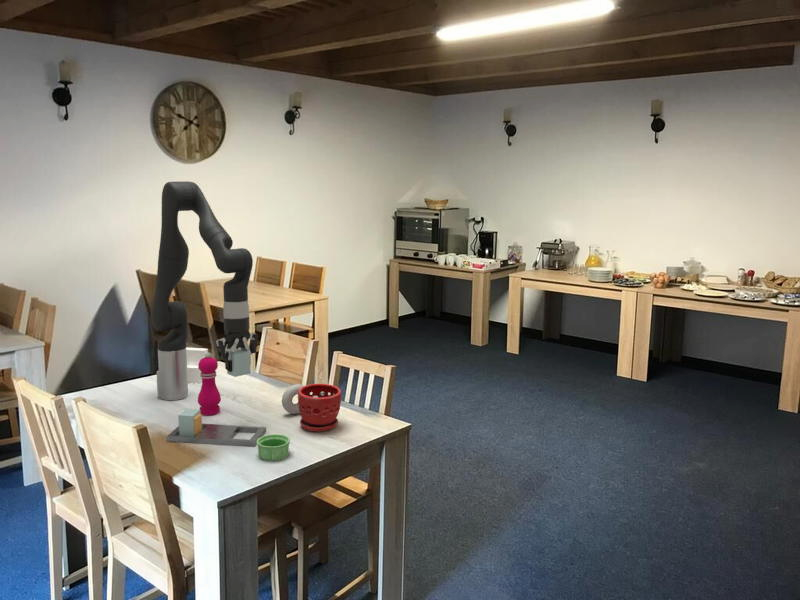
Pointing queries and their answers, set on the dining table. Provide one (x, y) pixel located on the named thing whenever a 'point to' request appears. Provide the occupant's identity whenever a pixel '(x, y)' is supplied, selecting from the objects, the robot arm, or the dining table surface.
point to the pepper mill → (208, 386)
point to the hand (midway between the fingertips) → (238, 369)
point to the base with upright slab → (194, 363)
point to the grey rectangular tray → (220, 435)
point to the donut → (288, 397)
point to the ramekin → (273, 446)
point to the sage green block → (190, 422)
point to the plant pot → (319, 407)
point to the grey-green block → (240, 363)
